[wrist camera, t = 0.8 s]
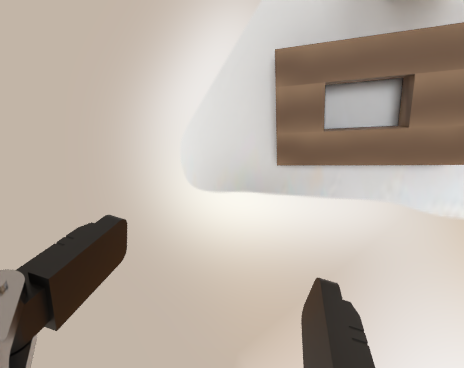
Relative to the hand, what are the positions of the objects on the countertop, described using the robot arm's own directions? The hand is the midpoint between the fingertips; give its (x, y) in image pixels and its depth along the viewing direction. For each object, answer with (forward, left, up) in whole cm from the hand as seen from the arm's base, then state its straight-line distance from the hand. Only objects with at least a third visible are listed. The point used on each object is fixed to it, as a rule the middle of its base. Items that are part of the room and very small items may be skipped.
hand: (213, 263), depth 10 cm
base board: (-6, +8, -21) cm, 23 cm away
